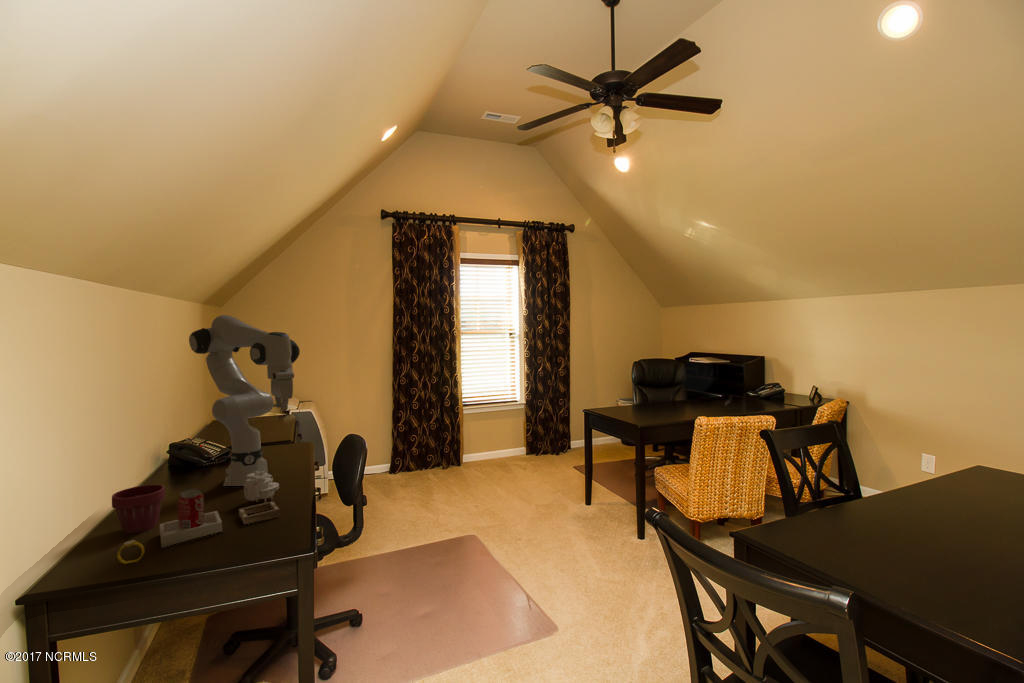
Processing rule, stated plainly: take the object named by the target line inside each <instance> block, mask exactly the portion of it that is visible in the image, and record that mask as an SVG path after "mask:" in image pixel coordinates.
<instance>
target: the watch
mask: <svg viewBox="0 0 1024 683" xmlns="http://www.w3.org/2000/svg"><path fill="white" fill-rule="evenodd" d="M131 546H138V547H139V549H141V553H140V554H141V555H140V556H138V558H137V559H131V560H124V558H122V556H121V552H122V549H124V548H125V547H127V548H128V547H131ZM144 554H145V546H144V545H143V544H142V543H141V542H140V541H139V542H138V541H137V540H136V539H133V540H132V539H131V540H128V541H125V542H124V543H123V545H121V547H120V548H119V550H118V551H117V553H116V559H117V560H118V562H119V563H121V564H123V565H128V564H132V563H137V562H139V561H140V560H141V559H142V558H143V556H144Z"/></svg>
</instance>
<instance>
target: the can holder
mask: <svg viewBox="0 0 1024 683" xmlns="http://www.w3.org/2000/svg"><path fill="white" fill-rule="evenodd" d="M265 510H266V511H265ZM280 510H281V509H280V508H279V506H277V505H276V503H275V502H274V500H271V501H268V502H267V501H266V502H263V503H259V504H255V505H250V506H246V507H241V508H238V517H239V518H240V520H241V522H242V521H243V522H242V523H244V524H243V525H244V526H246V525H245V524H248V525H251V524H250V523H252V524H254V522H256V523H259V522H263V521H267V520H272V519H275V518H279V517H281V512H280ZM261 511H262V512H261ZM257 512H258V513H257ZM252 513H254V514H252ZM248 514H250V515H248ZM266 519H267V520H266ZM262 520H263V521H262ZM258 521H259V522H258Z"/></svg>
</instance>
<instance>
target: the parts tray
mask: <svg viewBox="0 0 1024 683" xmlns="http://www.w3.org/2000/svg"><path fill="white" fill-rule="evenodd" d="M218 532H223V522H222V519H221V517H220V514H219V512H218V510H215V511H210V512H206V513H205V512H204V522H203V524H202V525H201V526H199V527H195V528H191V529H187V530H183V529H180V528H179V523H178V519H175V520H171V521H166V522H163V523H160V524H159V536H160V547H161V549H163V548H167V546H168V547H171V546H170V545H172V546H174V545H173V544H176V543H179V542H183V541H186V540H190V539H194V538H198V537H202V536H206V535H209V534H214V533H218ZM176 545H177V544H176Z"/></svg>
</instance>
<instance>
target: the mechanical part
mask: <svg viewBox="0 0 1024 683" xmlns="http://www.w3.org/2000/svg"><path fill="white" fill-rule="evenodd" d="M268 474H269V472H268V473H266V472H265V471H261V472H260V473H259V471H255V473H251V474H249V475H247V480H246V482H245V483H244V487H243V494H244V495H243V496H244V498H245V499H246V500H247V501H251V502H253V501H255V503H256V502H259V500H262V499H263V500H264V503H267V499H268V498H270V499H271V500H273V499H274V498H273V496H274V495H275V492H276V491H278V490H279V489H280V483H279V482H275V481H274V478H273V477H272V478H271V477H270V478H268V477H267V476H269V475H268ZM266 477H267V478H266ZM254 479H255V481H254ZM258 499H259V500H258Z"/></svg>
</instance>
